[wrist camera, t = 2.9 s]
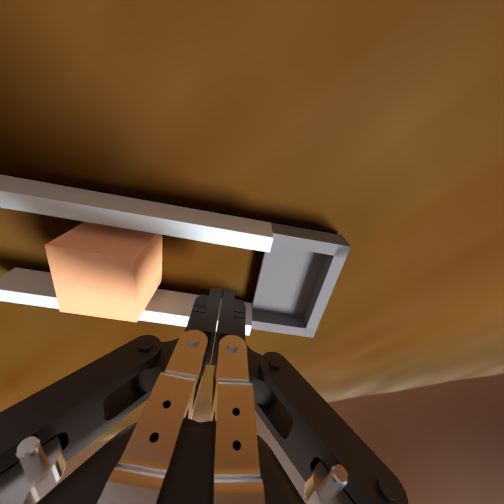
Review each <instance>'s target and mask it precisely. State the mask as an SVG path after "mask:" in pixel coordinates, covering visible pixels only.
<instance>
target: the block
mask: <svg viewBox="0 0 504 504" xmlns="http://www.w3.org/2000/svg"><path fill="white" fill-rule="evenodd" d="M45 249H46V254H47V258H48V262H49V267H50V271H51V275H52V279H53V284H54V288H55V292H56V296H57V301H58V305H59V309H60V312H67V313H74V314H82V315H89V316H96V317H103V318H110V319H117V320H124V321H131V322H137V321H138V320H139V318H140V316H141V315H142V313H143V311H144V310H145V308H146V306H147V304H148V303H149V301H150V299H151V298H152V296H153V294H154V293H155V291H156V289H157V288H158V286H159V284H160V283H161V281H162V235H161V234H156V233H150V232H144V231H138V230H132V229H126V228H120V227H114V226H108V225H102V224H96V223H90V222H83V223H82V224H80V225H78V226H76V227H75V228H73V229H71V230H69V231H68V232H66V233H64V234H62V235H61V236H59V237H57V238H55V239H54V240H52V241H50V242H48V243H47V244H45Z"/></svg>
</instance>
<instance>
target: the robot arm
mask: <svg viewBox="0 0 504 504" xmlns="http://www.w3.org/2000/svg"><path fill="white" fill-rule="evenodd" d="M222 290H223V289H221V288H214V287H211V289H210V293H209V295H204V294H200V295H199V296H198V297H197V298H196V299H195V302H194V305H193V308H192V312H191V314H190V317H189V321H188V324H187V327H186V330H185V332H184V333H183V334H182V335H181V336H180V337H179V338H178V339H176V340H173V341H168V342H161V341H160V340H159V339H158V338H157V337H155V336H152V335H144V336H140V337H138V338H136V339H134V340H132V341H130V342H128V343H127V344H125V345H123V346H121V347H119V348H117V349H116V350H114V351H112V352H110V353H108V354H106V355H105V356H103V357H101V358H99V359H97V360H95V361H94V362H92V363H90V364H88V365H86V366H84V367H83V368H81V369H79V370H77V371H75V372H73V373H72V374H70V375H68V376H66V377H64V378H62V379H61V380H59V381H57V382H55V383H53V384H51V385H50V386H48V387H46V388H44V389H42V390H40V391H39V392H37V393H35V394H33V395H31V396H29V397H28V398H26V399H24V400H22V401H20V402H18V403H17V404H15V405H13V406H11V407H9V408H7V409H6V410H4V411H2V412H0V504H305V502H304V501H303V499H302V497H301V496H300V494H299V493H298V491H297V490H296V488H295V486H294V485H293V483H292V482H291V480H290V478H289V477H288V475H287V474H286V472H285V470H284V469H283V467H282V466H281V464H280V462H279V461H278V459H277V458H276V456H275V454H274V453H273V451H272V450H271V448H270V447H269V446H268V444H267V443H266V442H265V441H264V440H263V439H262V438H261V437H260V436H259V435H257V430H256V419H255V411H256V412H257V413H258V415H259V416H260V418H261V419H262V420H263V422H264V423H265V425H266V426H267V428H268V429H269V430H270V432H271V433H272V435H273V436H274V438H275V439H276V440H277V442H278V443H279V445H280V446H281V448H282V449H283V450H284V452H285V453H286V455H287V456H288V457H289V459H290V460H291V462H292V463H293V465H294V466H295V467H296V469H297V470H298V472H299V473H300V474H301V476H302V477H303V479H304V480H305V482H306V485H305V497H306V501H307V504H408V499H407V495H406V492H405V490H404V488H403V486H402V484H401V483H400V481H399V480H398V478H397V477H396V476H395V475H394V474H393V473H392V472H391V471H390V470H389V469H388V467H387V466H386V465H385V464H384V463H383V462H382V461H381V460H380V459H379V458H378V457H377V456H376V455H375V454H374V452H373V451H372V450H371V449H370V448H369V447H368V446H367V445H366V444H365V443H364V442H363V441H362V440H361V439H360V437H359V436H358V435H357V434H356V433H355V432H354V431H353V430H352V429H351V428H350V427H349V426H348V425H347V424H346V423H345V422H344V420H343V419H341V417H340V416H339V415H338V414H337V413H336V412H335V411H334V410H333V409H332V408H331V407H330V406H329V404H328V403H327V402H326V401H325V400H324V399H323V398H322V397H321V396H320V395H319V394H318V393H317V392H316V391H315V390H314V388H313V387H312V386H311V385H310V384H309V383H308V382H307V381H306V380H305V379H304V378H303V377H302V376H301V375H300V374H299V372H298V371H297V370H296V369H295V368H294V367H293V366H292V365H291V364H290V363H289V362H288V361H287V360H286V359H285V358H284V357H283V356H282V355H281V354H279V353H276V352H267V353H265V354H264V355H260V354H258V353H256V352H254V351H252V350H251V349H250V348H249V347H248V346H247V344H246V341H245V322H246V306H245V304H244V302H243V300H238V299H235V291H234V290H228V289H224V291H223V297H222V302H221V296H222ZM220 302H221V308H220ZM219 308H220V314H219ZM218 314H219V320H218ZM217 320H218V326H217ZM216 326H217V332H216V338H215V344H214V350H213V356H212V362H211V365H215V368H214V374H213V380H212V393H211V407H210V420H209V421H208V422H202V423H199V422H196V421H194V420H191V418H192V414H193V410H194V406H195V403H196V399H197V396H198V392H199V388H200V385H201V381H202V376H203V375H204V372H205V367H206V365H210V360H211V355H212V349H213V343H214V337H215V331H216ZM147 399H148V400H147ZM146 400H147V403H146V405H145V407H144V409H143V411H142V413H141V416H140V418H139V420H138V422H137V423H135V424H132V425H131V426H129V427H127V428H125V429H124V430H122V431H121V432H119V433H118V434H117V435H116V436H114V437H113V438H112V439H111V440H110V441H109V442H107V443H106V444H105V445H104V446H103V447H102V448H100V449H99V450H98V451H97V452H96V453H95V454H93V455H92V456H91V457H90V458H89V459H88V460H86V461H85V462H84V463H83V464H82V465H80V467H78V468H77V469H76V470H75V471H73V472H72V473H71V474H70V475H69V476H68V477H66V478H65V479H64V480H63V481H62V482H61V483H59V484H58V485H57V486H56V487H55V488H53V487H54V486H55V485H56V484H57V482H58V481H59V479H60V478H61V476H62V474H63V472H64V468H65V463H66V462H67V461H68V460H69V459H71V458H72V457H73V456H75V455H76V454H77V453H78V452H80V451H81V450H82V449H84V448H85V447H86V446H88V445H89V444H90V443H91V442H93V441H94V440H95V439H97V438H98V437H99V436H101V435H102V434H103V433H104V432H106V431H107V430H108V429H110V428H111V427H112V426H113V425H115V424H116V423H117V422H119V421H120V420H121V419H123V418H124V417H125V416H126V415H128V414H129V413H130V412H132V411H133V410H134V409H136V408H137V407H138V406H139V405H141V404H142V403H143V402H145V401H146ZM52 488H53V489H52ZM51 489H52V490H51ZM50 490H51V491H50ZM49 491H50V492H49ZM48 492H49V493H48ZM47 493H48V494H47Z"/></svg>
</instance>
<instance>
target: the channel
mask: <svg viewBox="0 0 504 504" xmlns="http://www.w3.org/2000/svg"><path fill="white" fill-rule="evenodd" d="M0 207H1V208H6V209H12V210H18V211H24V212H30V213H36V214H42V215H48V216H54V217H60V218H66V219H72V220H78V221H84V222H90V223H96V224H102V225H108V226H114V227H120V228H126V229H132V230H138V231H144V232H150V233H156V234H161V235H167V236H173V237H179V238H185V239H191V240H197V241H203V242H209V243H215V244H221V245H227V246H233V247H239V248H245V249H251V250H257V251H263V252H269V253H270V250H271V246H272V242H273V232H272V226H271V222H265V221H259V220H254V219H248V218H242V217H237V216H231V215H225V214H220V213H214V212H209V211H203V210H197V209H192V208H186V207H180V206H175V205H169V204H164V203H158V202H152V201H147V200H141V199H135V198H130V197H124V196H119V195H113V194H107V193H102V192H96V191H90V190H85V189H79V188H73V187H68V186H62V185H57V184H51V183H45V182H40V181H34V180H28V179H23V178H17V177H12V176H6V175H0ZM198 296H199V295H196V294H189V293H183V292H176V291H169V290H163V289H156V291H155V293H154V294H153V296H152V298H151V299H150V301H149V303H148V304H147V306H146V308H145V310H144V311H143V313H142V315H141V316H140V318H139V320H141V321H149V322H156V323H163V324H170V325H177V326H184V327H187V324H188V321H189V317H190V314H191V312H192V308H193V305H194V302H195V299H196V298H197V297H198ZM0 301H6V302H13V303H20V304H27V305H34V306H41V307H48V308H56V309H59V305H58V301H57V296H56V292H55V288H54V284H53V279H52V275H51V273H50V272H43V271H36V270H30V269H23V268H14V269H12V270H11V271H9V272H7V273H6V274H4V275H2V276H1V277H0ZM221 302H222V298H221ZM221 302H220V308H221ZM244 304H245V306H246V322H245V335H250V331H251V327H252V303H249V302H244ZM220 308H219V314H220ZM219 314H218V320H219ZM218 320H217V326H218ZM217 326H216V331H217Z"/></svg>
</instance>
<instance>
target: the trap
mask: <svg viewBox="0 0 504 504" xmlns="http://www.w3.org/2000/svg"><path fill="white" fill-rule="evenodd" d="M271 226H272V232H273V242H272V246H271V250H270V253H269V252H264V254H263V258H262V263H261V267H260V271H259V275H258V280H257V284H256V288H255V293H254V297H253V301H252V327H251V329H256V330H263V331H271V332H278V333H285V334H292V335H299V336H306V337H313V336H314V334H315V331H316V329H317V327H318V324H319V322H320V319H321V317H322V315H323V312H324V310H325V307H326V305H327V303H328V300H329V298H330V295H331V293H332V291H333V288H334V286H335V283H336V281H337V278H338V276H339V274H340V271H341V269H342V266H343V264H344V262H345V259H346V257H347V254H348V252H349V250H350V247H351V246H350V245H349V244H348V243H347V241H346V240H345V239H344V238H343V236H342V235H338V234H332V233H327V232H321V231H316V230H310V229H304V228H299V227H293V226H287V225H282V224H276V223H271Z"/></svg>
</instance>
